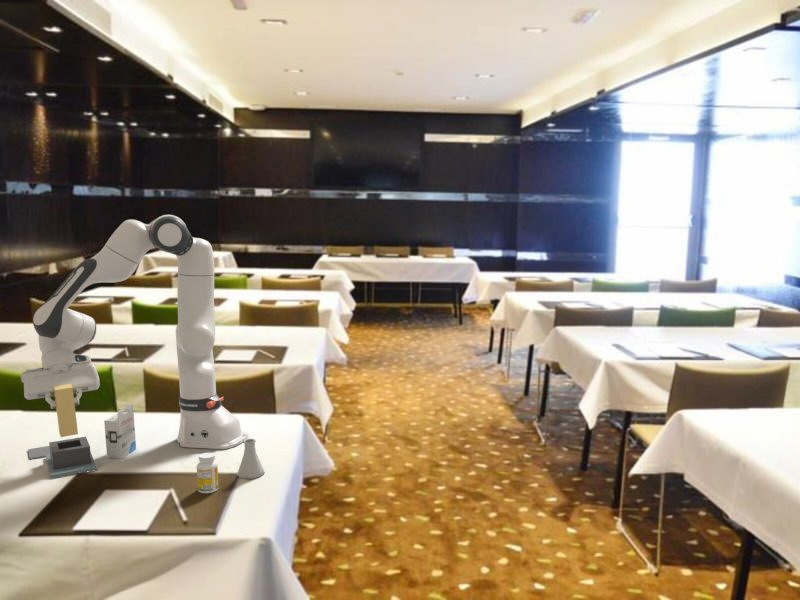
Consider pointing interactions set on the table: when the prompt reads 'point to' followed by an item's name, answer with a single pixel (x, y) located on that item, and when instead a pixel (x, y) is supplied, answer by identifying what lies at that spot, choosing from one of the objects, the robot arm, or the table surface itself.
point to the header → (70, 453)
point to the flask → (250, 462)
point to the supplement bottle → (207, 473)
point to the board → (70, 468)
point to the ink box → (120, 433)
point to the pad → (39, 452)
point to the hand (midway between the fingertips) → (65, 405)
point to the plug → (65, 410)
